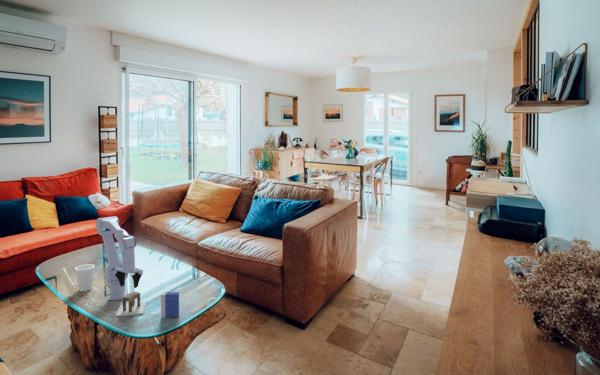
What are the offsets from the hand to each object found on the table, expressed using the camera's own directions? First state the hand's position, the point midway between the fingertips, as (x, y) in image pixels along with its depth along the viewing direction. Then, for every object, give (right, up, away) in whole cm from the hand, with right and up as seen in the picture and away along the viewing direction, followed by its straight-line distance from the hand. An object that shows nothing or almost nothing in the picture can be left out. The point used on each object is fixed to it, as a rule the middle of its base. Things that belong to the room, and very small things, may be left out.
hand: (129, 286), depth 175 cm
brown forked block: (+3, -10, -3) cm, 11 cm away
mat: (+3, -11, -3) cm, 12 cm away
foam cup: (-34, -7, +19) cm, 39 cm away
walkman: (+24, -13, -8) cm, 28 cm away
